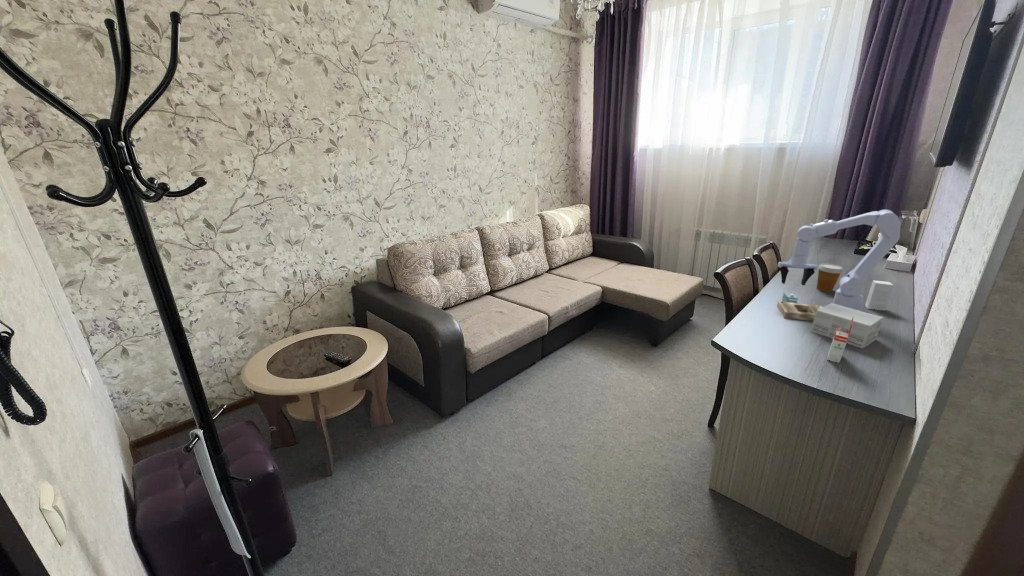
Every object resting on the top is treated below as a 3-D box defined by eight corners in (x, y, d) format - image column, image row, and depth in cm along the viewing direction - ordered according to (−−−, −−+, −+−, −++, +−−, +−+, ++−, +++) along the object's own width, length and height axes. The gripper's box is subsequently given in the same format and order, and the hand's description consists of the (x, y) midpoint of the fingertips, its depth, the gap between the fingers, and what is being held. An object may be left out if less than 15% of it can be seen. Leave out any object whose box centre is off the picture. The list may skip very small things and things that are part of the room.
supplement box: (876, 339, 153) (884, 317, 150) (862, 349, 147) (871, 325, 143) (824, 323, 166) (831, 301, 163) (809, 331, 160) (816, 309, 156)
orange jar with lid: (815, 291, 198) (822, 267, 194) (810, 285, 206) (816, 262, 202) (839, 294, 195) (846, 270, 191) (833, 287, 203) (840, 264, 199)
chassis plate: (819, 311, 177) (820, 305, 176) (829, 323, 166) (831, 316, 165) (776, 306, 181) (778, 300, 180) (783, 317, 171) (785, 311, 170)
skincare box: (881, 307, 181) (890, 282, 176) (884, 311, 177) (894, 285, 173) (864, 305, 183) (872, 279, 179) (867, 308, 179) (875, 283, 175)
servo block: (790, 300, 188) (793, 290, 187) (796, 307, 180) (799, 297, 179) (780, 299, 190) (783, 289, 188) (786, 306, 181) (788, 296, 180)
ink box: (826, 360, 139) (838, 321, 134) (828, 351, 145) (840, 313, 140) (839, 363, 137) (853, 324, 132) (841, 354, 143) (854, 316, 138)
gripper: (816, 252, 178) (808, 282, 183) (778, 250, 182) (771, 279, 187) (823, 257, 172) (814, 287, 177) (783, 254, 176) (776, 284, 180)
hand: (792, 283), depth 181 cm, fingers open, 7 cm apart
